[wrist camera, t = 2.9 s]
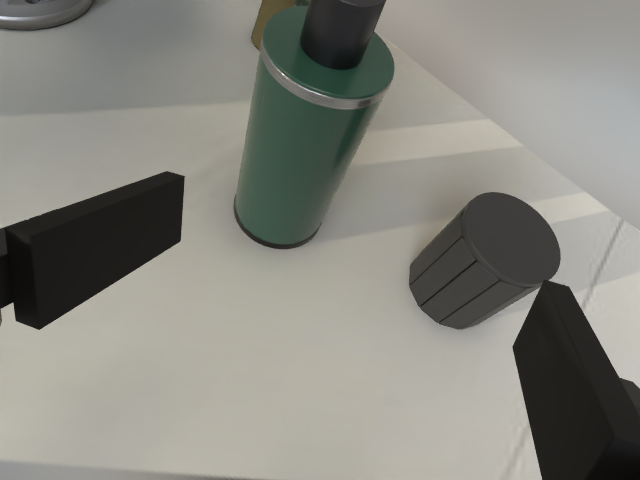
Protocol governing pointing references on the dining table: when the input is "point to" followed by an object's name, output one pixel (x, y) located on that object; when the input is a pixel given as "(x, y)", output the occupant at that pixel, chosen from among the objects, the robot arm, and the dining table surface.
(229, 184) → the dining table surface
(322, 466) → the dining table surface
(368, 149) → the dining table surface
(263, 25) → the olive pawn figure
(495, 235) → the grey lidded canister
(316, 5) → the flask
